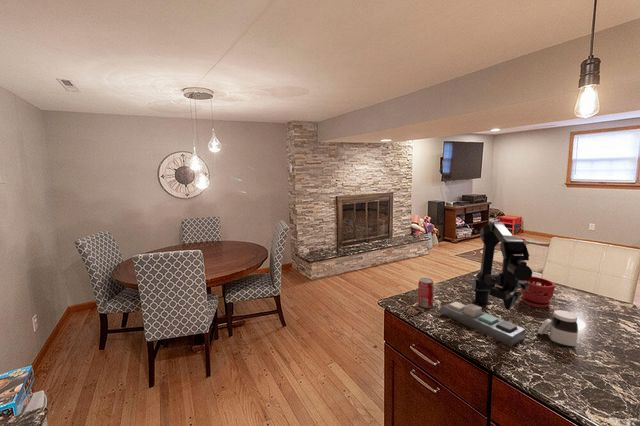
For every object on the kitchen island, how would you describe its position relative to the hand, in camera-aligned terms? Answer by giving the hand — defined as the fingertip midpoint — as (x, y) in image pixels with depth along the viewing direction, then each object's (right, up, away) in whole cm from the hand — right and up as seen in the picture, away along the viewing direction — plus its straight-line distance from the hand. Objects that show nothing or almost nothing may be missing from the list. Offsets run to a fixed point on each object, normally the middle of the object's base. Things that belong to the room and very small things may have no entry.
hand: (507, 309), depth 116 cm
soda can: (-22, -8, +29) cm, 37 cm away
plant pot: (+33, -7, +30) cm, 45 cm away
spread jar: (+18, -12, -1) cm, 22 cm away
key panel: (-5, -10, +10) cm, 15 cm away
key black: (0, -11, +1) cm, 11 cm away
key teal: (-4, -10, +7) cm, 13 cm away
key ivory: (-11, -8, +19) cm, 23 cm away
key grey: (-7, -7, +13) cm, 16 cm away
